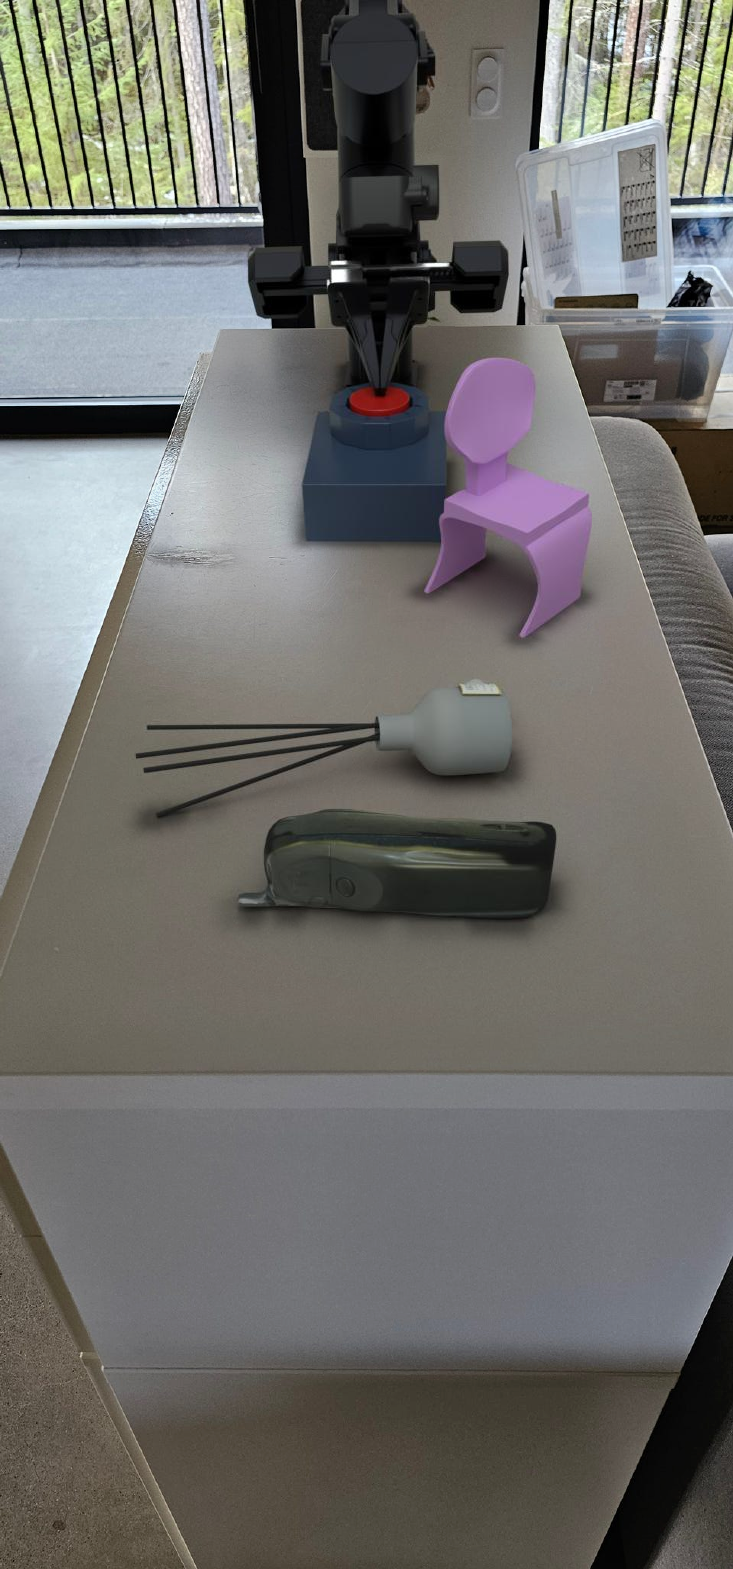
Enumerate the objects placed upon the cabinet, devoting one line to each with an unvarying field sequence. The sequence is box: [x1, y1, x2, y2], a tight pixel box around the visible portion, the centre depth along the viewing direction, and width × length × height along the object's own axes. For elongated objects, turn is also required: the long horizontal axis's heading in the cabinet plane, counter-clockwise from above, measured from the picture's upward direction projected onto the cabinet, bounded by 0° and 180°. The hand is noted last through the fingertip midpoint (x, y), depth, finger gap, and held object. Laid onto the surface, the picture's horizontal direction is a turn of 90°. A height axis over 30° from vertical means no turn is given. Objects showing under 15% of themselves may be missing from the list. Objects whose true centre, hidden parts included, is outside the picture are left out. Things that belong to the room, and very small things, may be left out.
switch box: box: [301, 382, 448, 543], centre depth 81 cm, size 13×10×6 cm
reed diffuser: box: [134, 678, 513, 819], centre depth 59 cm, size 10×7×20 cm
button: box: [350, 387, 409, 417], centre depth 82 cm, size 4×4×2 cm
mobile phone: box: [237, 808, 557, 920], centre depth 52 cm, size 5×3×15 cm
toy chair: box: [423, 357, 593, 639], centre depth 68 cm, size 8×9×15 cm
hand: (380, 393), depth 81 cm, fingers closed, pressing on button
